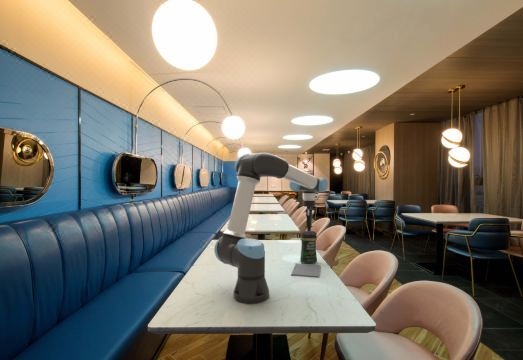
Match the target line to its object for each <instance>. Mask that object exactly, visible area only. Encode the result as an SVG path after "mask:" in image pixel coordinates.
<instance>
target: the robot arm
mask: <svg viewBox="0 0 523 360" xmlns="http://www.w3.org/2000/svg"><path fill="white" fill-rule="evenodd" d="M234 171H235V174H236V179H237V181H238V182H237V187H236V191H235V195H234V199H233V204H232V208H231V211H230V217H229V220H228V224H227V229H226V230H225V231H223V232H222V235H221V237H219V238H218V239H217V241H216V242H215V244H214V249H213V251H214V256H215V258H216V259H217V260H218V261H220V262H221V263H222V264H225V265H229V266H231V267H233V268H237V280H236V283H235V286H234V289H233V298H234V299H235V300H236V301H237V302H240V303H243V304H257V303H262V302H265V301H267V300H268V298H269V297H270V288H269V286H268V282H267V279H266V274H265V273H266V271H265V270H266V268H265V267H266V265H265V264H266V251H265V245H264V243H263V242H262V241H261V240H259V239H255V238H249V237H247V235H246V229H247V225H248V220H249V215H250V213H251V208H252V203H253V199H254V194H255V189H256V186H257V185H258V184H260V181H261V178H265V177H266V178H267V177H269V178H276V179H284V180H286V181H289V189H290V190H291V191H293V192H302V206H303V207H306V209H305V217H306V226H305V228H306V231H313V229H312V228H313V225H312V224H313V223H312V222H313V221H312V216H313V209H312V208H314V207H316V197H317V194H316V192H319V193H323V192H327V190H328V189H329V188H328V187H329V183H328V182H329V181H328V180H327V179H326V178H323V177H317V176H315V175H312V174H310V173H309V172H306V171H304V170H302V169H300V168H298V167H295V166H294V165H291V164H290V163H289V161H288V160H286V159H284V158H282V157H279V156H277V155H275V154H272V153H269V152H256V153H246V154H243V155H240V156H238V157H237V159H236V160H235V164H234Z"/></svg>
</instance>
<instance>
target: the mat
mask: <svg viewBox="0 0 523 360" xmlns="http://www.w3.org/2000/svg"><path fill="white" fill-rule="evenodd" d="M320 273H321V264H312V263H311V264H305V263H295V264H294V267H293V270H291V274H290V275H291V276H297V277H309V278H320V277H319V276H320Z"/></svg>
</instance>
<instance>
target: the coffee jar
mask: <svg viewBox="0 0 523 360" xmlns="http://www.w3.org/2000/svg"><path fill="white" fill-rule="evenodd" d="M300 240H301V246H300V248H301V250H300V262H301V264H311V265H312V264H317V263H318V257H317V256H318V255H317V248H316V247H317V240H318V236H317V232H316V231H314V230H312V231H307V230H303V231H301V232H300Z"/></svg>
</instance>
